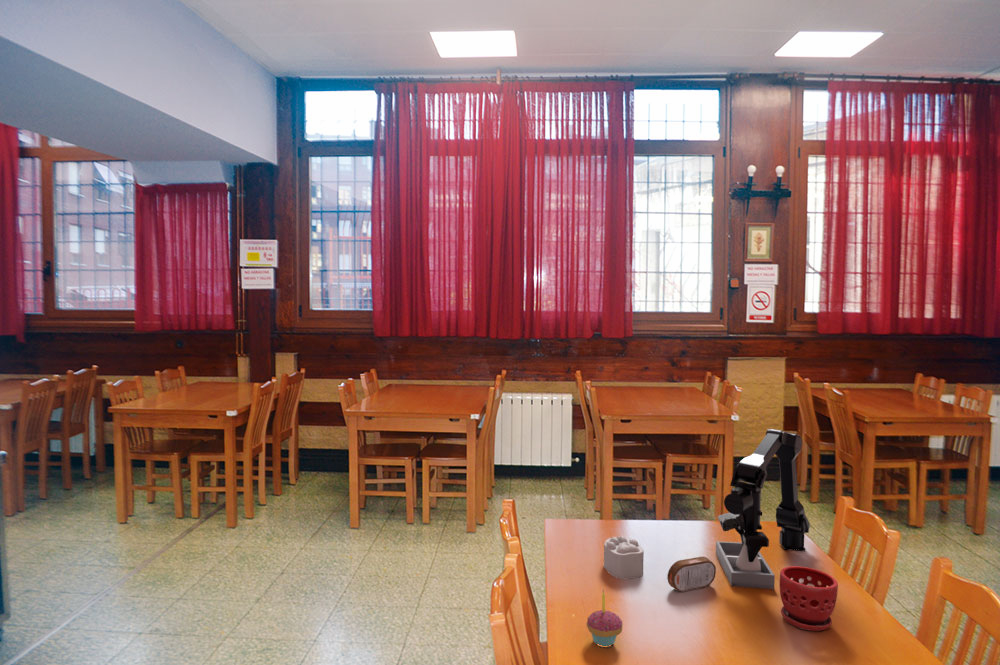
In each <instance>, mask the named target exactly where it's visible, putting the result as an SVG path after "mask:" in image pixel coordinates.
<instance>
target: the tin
mask: <svg viewBox="0 0 1000 665" xmlns="http://www.w3.org/2000/svg"><path fill="white" fill-rule="evenodd" d="M716 573H717V568H716V565H715V563H714V562H713V561H712V560H710V558H708V557H706V556H697V557H691V558H685V559H680V560H679V559H678V560H677V561H675V562H674V563H673V564H672V565H671V566H670V568H669V569H668V572H667V577H666V578H667V583H668V585H669V586H670V587H671V588H673V589H674V590H676V591H677V592H680V593H682V592H689V591H694V590H699V589H704V588H707V587H709V586H711V585H712V583H713V582H714V581H715V578H716Z"/></svg>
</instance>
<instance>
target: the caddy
mask: <svg viewBox="0 0 1000 665" xmlns="http://www.w3.org/2000/svg"><path fill="white" fill-rule="evenodd" d="M742 547H743V546H742V542H740V541H739V542H738V541H722V540H721V541H720V540H716V541H715V555H716V557H717V559H718V561H719V564H720V565H721V567H722V569H723V572H724V574H725V576H726V578H727V580H728V582H729V584H730V586H731V587H737V588H752V589H766V590H767V589H769V590H775V580H776V578H775V577H776V576H775V573H774V572H773V570H772V569H771V566H769V564H768V562H767V561H766V559H765V558H764V556H763V555H762V553H761V552H760V551H759V553H758V554H757V557H758V559H759V562H760V565H761V572H753V573H752V572H746V571H741V570H740V569H738V568H737V567H736V561H737V559H738V557H739V555H740V552H741V550H742Z"/></svg>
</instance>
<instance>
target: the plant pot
mask: <svg viewBox="0 0 1000 665" xmlns="http://www.w3.org/2000/svg"><path fill="white" fill-rule="evenodd" d="M779 573H780V574H779V594H780V600H781V602H782V606H781V608H780V613H781V616H782V617H783V619H784V620H786V622H787V623H789V624H791V625H792V626H794V627H797V629H801V630H805V631H812V632H818V631H824V630H827V629H829V628H830V627H831V625H832V623H833V621H832V617H831V615H833V612H834V609H835V607H836V602H837V599H838V598H837V596H838V588H839V583H838V581H837V580H836V578H834V577H833V576H832V575H830V574H829V573H826V572H824V571H821V570H819V569H816V568H812V567H806V566H797V565H796V566H792V565H791V566H786V567H783V568H782V569H781V570H780V572H779ZM808 578H810V579H808ZM800 580H803V582H800ZM819 583H820V584H819ZM809 584H810V585H813V586H810V585H809Z"/></svg>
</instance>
